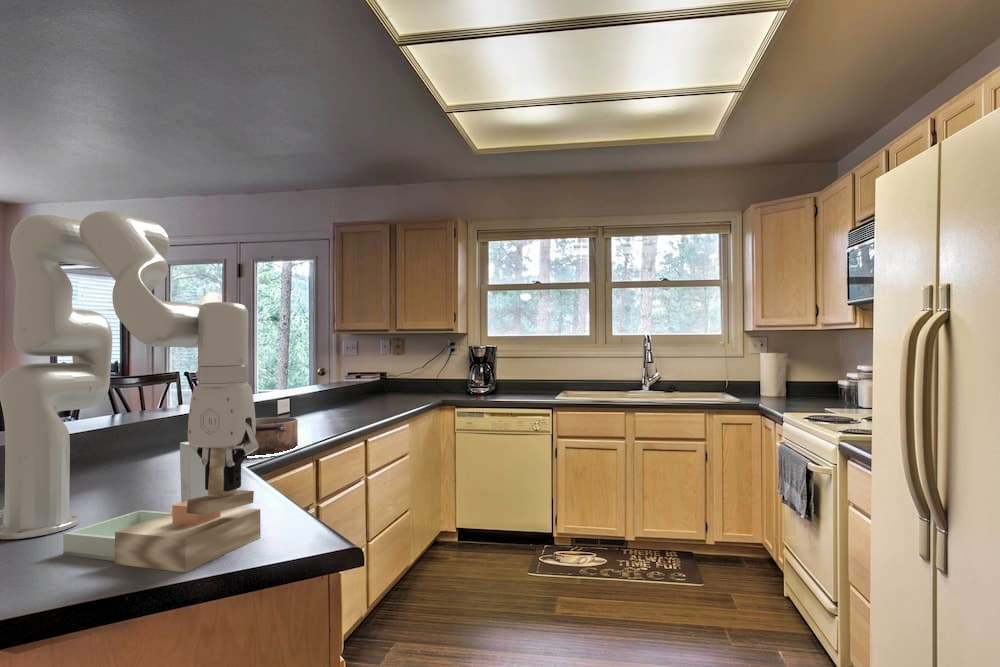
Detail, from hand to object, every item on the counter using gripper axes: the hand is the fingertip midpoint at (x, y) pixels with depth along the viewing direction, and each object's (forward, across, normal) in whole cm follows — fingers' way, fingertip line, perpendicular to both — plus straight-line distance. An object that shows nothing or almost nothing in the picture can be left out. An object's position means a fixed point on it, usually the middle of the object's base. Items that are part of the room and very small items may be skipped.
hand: (223, 487), depth 91 cm
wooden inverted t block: (+3, 0, 0) cm, 3 cm away
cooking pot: (+11, -60, +82) cm, 102 cm away
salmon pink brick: (+6, -5, 0) cm, 8 cm away
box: (+11, -20, 0) cm, 23 cm away
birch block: (+11, -6, 0) cm, 12 cm away
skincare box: (+11, -23, +20) cm, 33 cm away
